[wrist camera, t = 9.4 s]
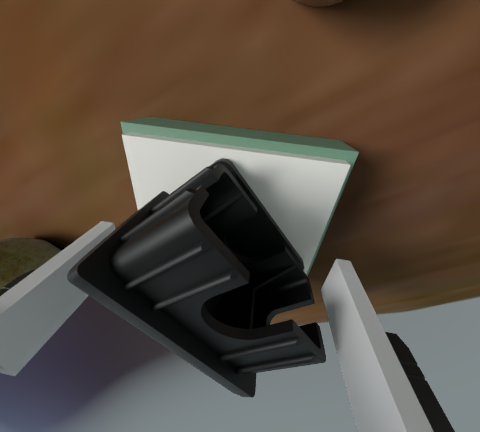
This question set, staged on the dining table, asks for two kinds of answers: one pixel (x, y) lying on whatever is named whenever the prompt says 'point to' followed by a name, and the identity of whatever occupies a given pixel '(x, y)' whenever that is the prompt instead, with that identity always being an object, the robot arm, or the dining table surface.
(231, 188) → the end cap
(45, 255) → the fruit
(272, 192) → the stand
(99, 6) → the dining table surface
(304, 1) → the pinkish tan egg
